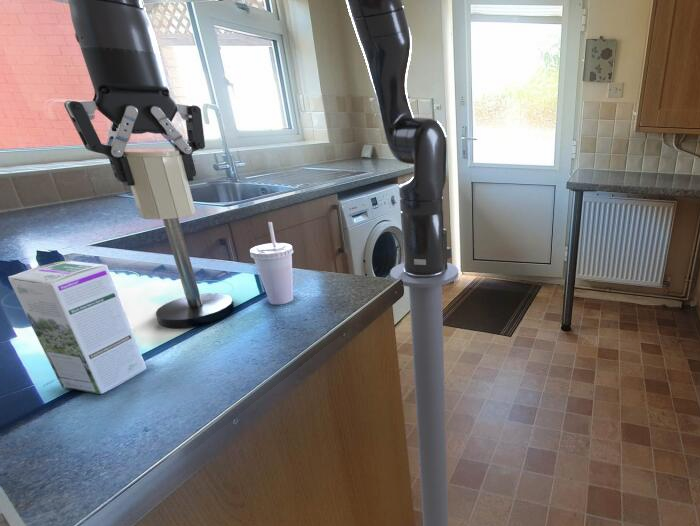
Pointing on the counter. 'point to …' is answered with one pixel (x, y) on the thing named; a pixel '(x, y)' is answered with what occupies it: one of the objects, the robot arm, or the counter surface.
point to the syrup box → (80, 324)
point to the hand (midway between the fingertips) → (160, 182)
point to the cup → (160, 183)
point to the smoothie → (275, 269)
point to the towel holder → (190, 290)
